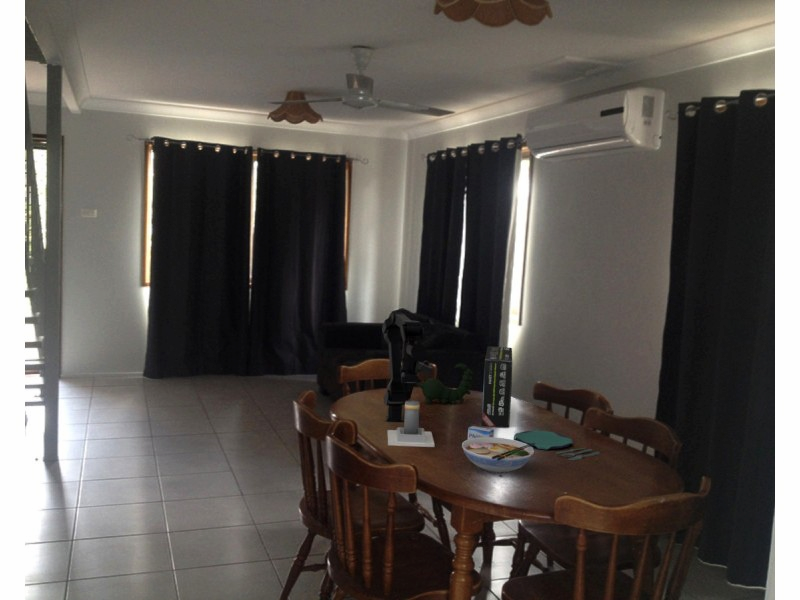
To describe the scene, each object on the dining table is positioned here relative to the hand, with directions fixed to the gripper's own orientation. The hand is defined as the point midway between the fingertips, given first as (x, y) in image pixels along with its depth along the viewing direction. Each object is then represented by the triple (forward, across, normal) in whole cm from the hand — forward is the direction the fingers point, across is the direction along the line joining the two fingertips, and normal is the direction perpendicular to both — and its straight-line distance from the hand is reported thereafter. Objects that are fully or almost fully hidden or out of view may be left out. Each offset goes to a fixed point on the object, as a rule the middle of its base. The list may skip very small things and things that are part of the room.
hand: (408, 396), depth 267 cm
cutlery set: (+14, -12, -52) cm, 55 cm away
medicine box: (+13, -24, -24) cm, 36 cm away
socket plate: (+13, -11, -1) cm, 17 cm away
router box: (+13, +28, -38) cm, 49 cm away
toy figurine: (+13, +48, -18) cm, 53 cm away
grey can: (+12, -13, -1) cm, 18 cm away
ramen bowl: (+13, -41, -27) cm, 51 cm away
